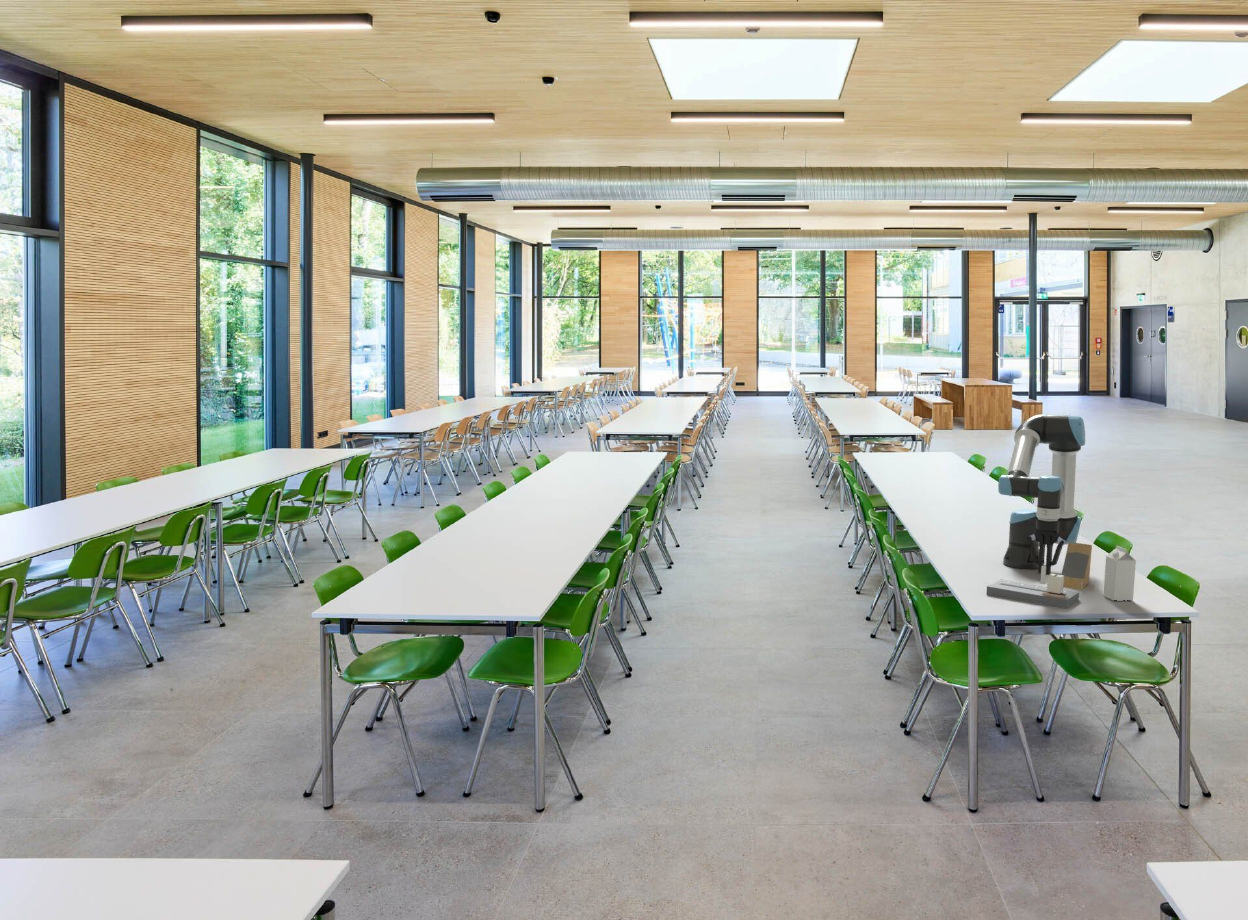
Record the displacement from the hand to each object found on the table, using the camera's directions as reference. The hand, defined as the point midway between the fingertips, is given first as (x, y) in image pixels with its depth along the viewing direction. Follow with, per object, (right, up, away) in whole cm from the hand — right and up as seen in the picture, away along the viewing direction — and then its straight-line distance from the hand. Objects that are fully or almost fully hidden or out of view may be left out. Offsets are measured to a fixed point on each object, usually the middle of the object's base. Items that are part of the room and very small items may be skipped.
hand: (1043, 583), depth 341 cm
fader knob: (+3, -3, -2) cm, 5 cm away
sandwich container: (+21, -4, +22) cm, 31 cm away
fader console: (-3, -6, +3) cm, 7 cm away
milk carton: (+28, -6, +2) cm, 28 cm away
